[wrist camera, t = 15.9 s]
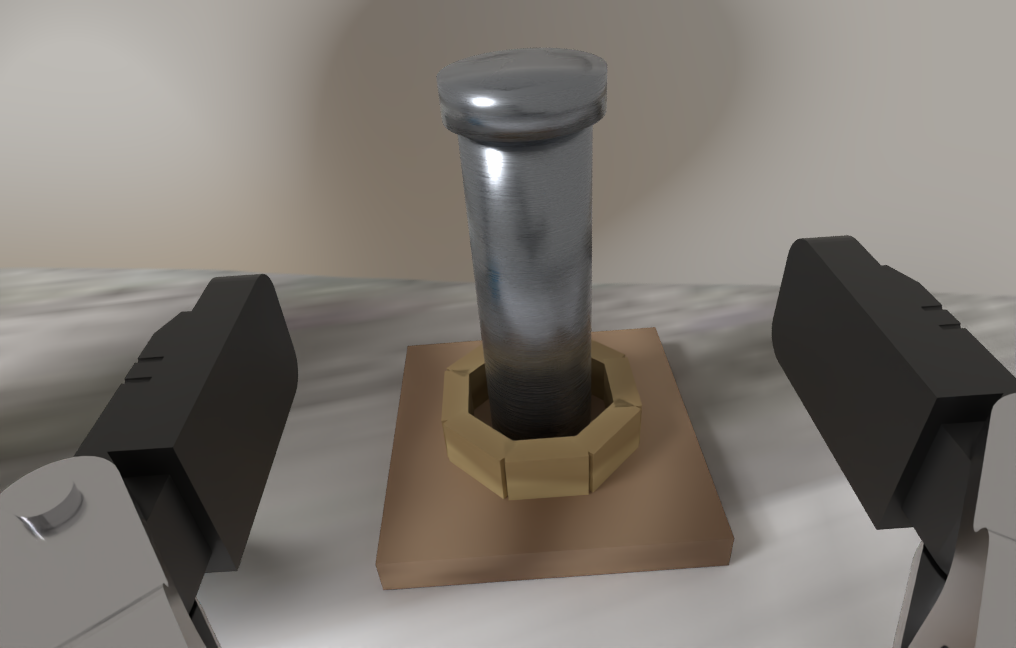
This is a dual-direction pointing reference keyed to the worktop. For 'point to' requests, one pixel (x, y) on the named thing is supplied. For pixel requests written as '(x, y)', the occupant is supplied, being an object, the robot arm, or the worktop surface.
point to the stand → (546, 477)
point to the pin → (530, 226)
